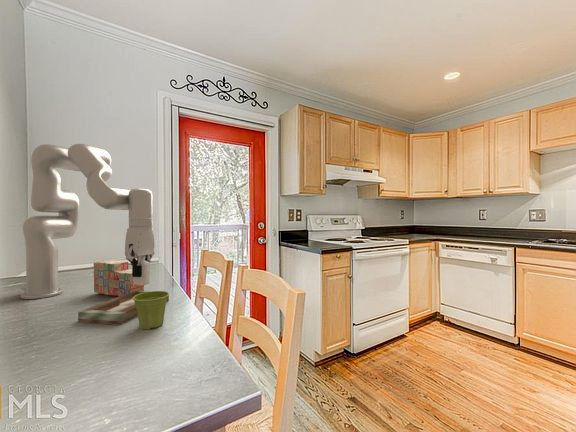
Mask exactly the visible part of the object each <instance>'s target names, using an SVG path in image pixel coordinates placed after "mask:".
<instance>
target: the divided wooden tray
mask: <svg viewBox="0 0 576 432" xmlns="http://www.w3.org/2000/svg"><path fill="white" fill-rule="evenodd" d="M151 291H152V290H150V291H148V290H147V291H146V290H144V291H135V292H131V293H128V294H125V295H122V296H116V297H115V298H111V299H110V300H106V301H103V302H102V303H99V304H95V305H93V306H91V307H88V308H85V309H82V310H80V311H78V312H77V314H78V315H77V318H78V321H77V322H78V323H85V324H101V325H102V324H103V325H104V324H105V325H114V326H115V325H117V326H121V325H123V324H126V323H127V322H129V321H131V320H133V319H135V318H138V314H137V308H136V305H135V302H134V300H133V297H134V296H135V295H137V294H140V293H145V292H151ZM169 297H170V295H169V296H168V298H167V301H166V302H168V301H170V298H169Z"/></svg>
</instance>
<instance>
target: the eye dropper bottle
mask: <svg viewBox="0 0 576 432" xmlns="http://www.w3.org/2000/svg"><path fill="white" fill-rule="evenodd" d="M145 257H146V256H141V262H140V265H142V276H141V277H133V284H134V285H144V286H146V285H149V284H150V275H151V274H150V273H151V271H150V269H151V268H150V269H149V262H147V261H145Z"/></svg>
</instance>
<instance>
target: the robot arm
mask: <svg viewBox="0 0 576 432" xmlns="http://www.w3.org/2000/svg"><path fill="white" fill-rule="evenodd" d="M30 157H31V158H30V165H31V170H32V185H31V196H30V206H31V209H32V210H33V211H35V212H39V213H53V214H54V213H58V215H35V216H34V215H33V216H31V217H28V218H26V220H25V219H24V222H23V224H22V233H23V236H24V239H25V240H24V242H25V250H26V251H25V258H26V259H25V260H26V261H25V266H26V267H25V268H26V269H25V271H26V272H25V274H26V275H25V277H26V279H25V281H26V282H25V283H24V285H21V286H20V291H21V290H22V291H24V293H22V294H20V298H21V299H23V300H37V299H44V298H49V297H54V296H58V295H60V294H62V293H64V290H63V288H59V249H58V247H57V245H56V244H55V242H54V239H67V238H71V237H73V236H74V235H75V234H76V232H77V229H78V224H79V223H78V221H79V213H80V199H79V196H78V195H77V194H76V193H75V192H73V191H71V190H67V189H65V190H63V189H62V187H61V184H62V178H61V175H60V173H59V172H58V170H57V169H63V170H67V171H74V172H81V173H82V174H83V175H84V177H85V178H86V179H87V180H86V183H85V184H86V186H85V187H86V191H87V194H88V195H89V196H90V198H91V199H92V200H93V202H95V203H96V204H97V205H98V206H99V207H101V209H102V208H103V209H105V210H114V211H116V210H119V211H128V228H127V229H126V233H125V240H124V241H125V244H124V256H125V259H126V260H127V262H128V263H130V265H131V266H132V267H131V269H132V276H133V277H141V276H142V265H140V262H141V256H145V261H147V262H149V269H151V268H150V267H151V266H150V264H151V263H152V262H151V259H152V258H153V256H154V255H155V235H154V228H153V227H154V224H153V220H154V219H153V213H154V212H153V207H154V206H153V203H154V202H153V192H152V191H151V190H150V189H146V188H132V189H126V188H125V189H123V188H118V187H117V188H116V187H110V186H109V185H108V184H107V183H106V182H107V181H108V180H109V179H110V178H111V176H112V174H113V170H112V168H111V167H110V166H111V164H112V158H111V157H112V156H111V155H110V153H109V152H108V151H107V150H105V149H103V148H99V147H97V146H93V145H90V144H85V143H75V144H73V145H71V146H69V148H68V147H66V146H61V145H60V146H59V145H55V144H40V145H38V146H36V147H35V148H34V150H33V151H32V153H31V156H30Z"/></svg>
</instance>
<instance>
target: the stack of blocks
mask: <svg viewBox="0 0 576 432" xmlns="http://www.w3.org/2000/svg"><path fill="white" fill-rule="evenodd" d="M135 291H145V285H134V284H133V276H132V268H130V269H129V261H123V260H109V259H108V260H102V261H101V260H100V261H95V262H93V292H94V293H96V294H102V295H106V296H116V297H120V296H122V295H125V294H128V293H131V292H135Z"/></svg>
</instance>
